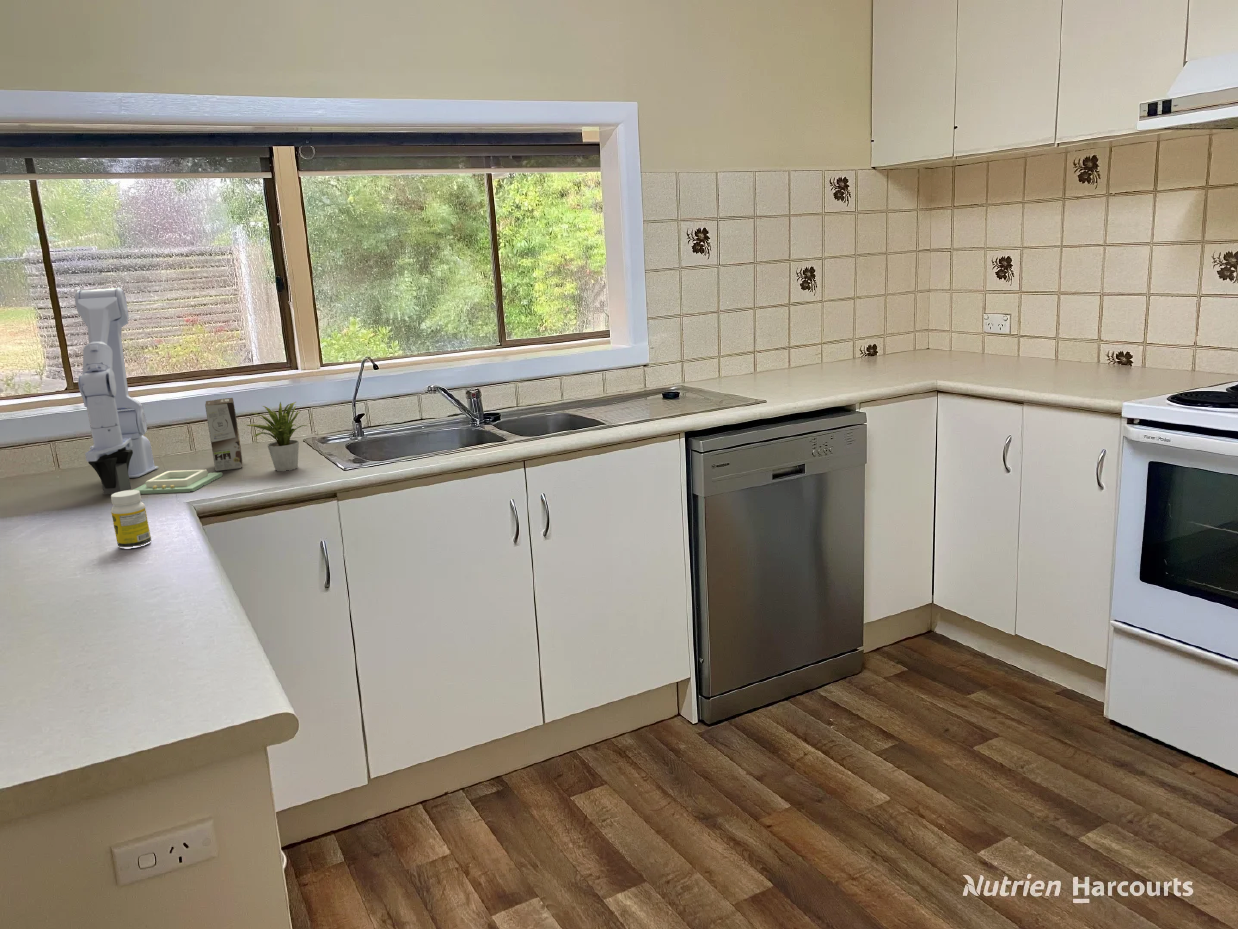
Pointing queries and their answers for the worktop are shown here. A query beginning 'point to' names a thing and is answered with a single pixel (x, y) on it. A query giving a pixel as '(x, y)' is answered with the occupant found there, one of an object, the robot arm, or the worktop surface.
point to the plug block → (119, 479)
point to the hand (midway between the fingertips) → (116, 485)
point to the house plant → (281, 438)
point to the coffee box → (224, 434)
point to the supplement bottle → (130, 519)
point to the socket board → (178, 481)
